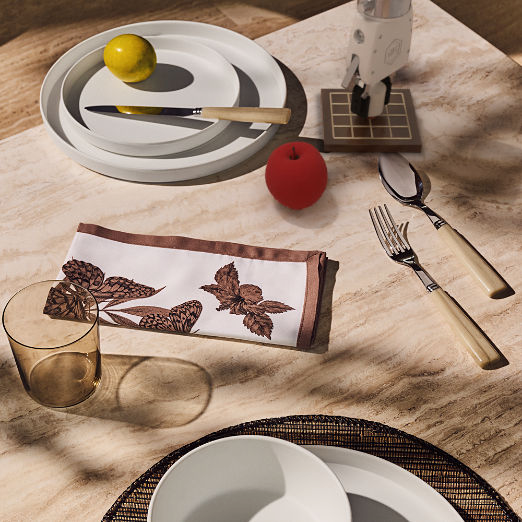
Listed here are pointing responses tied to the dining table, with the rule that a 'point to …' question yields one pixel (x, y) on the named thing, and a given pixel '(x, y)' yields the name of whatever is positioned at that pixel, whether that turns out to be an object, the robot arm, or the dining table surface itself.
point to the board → (369, 124)
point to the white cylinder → (376, 98)
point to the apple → (296, 175)
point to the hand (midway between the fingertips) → (369, 106)
